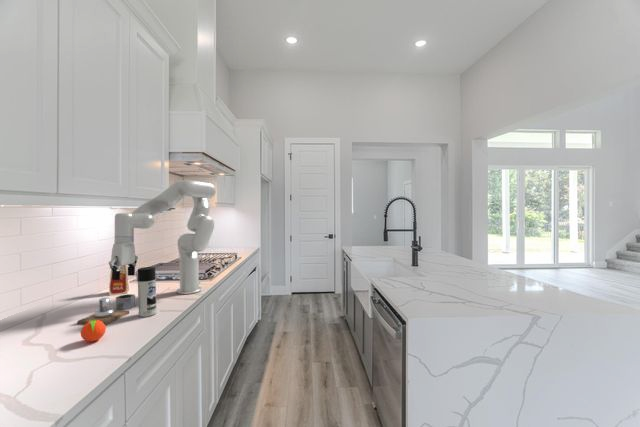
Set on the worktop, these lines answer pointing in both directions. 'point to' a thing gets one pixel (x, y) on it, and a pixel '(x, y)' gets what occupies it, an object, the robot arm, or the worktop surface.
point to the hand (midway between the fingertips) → (123, 277)
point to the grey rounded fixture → (104, 309)
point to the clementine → (93, 330)
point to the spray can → (146, 291)
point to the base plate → (106, 320)
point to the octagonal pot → (125, 302)
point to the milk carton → (119, 283)
